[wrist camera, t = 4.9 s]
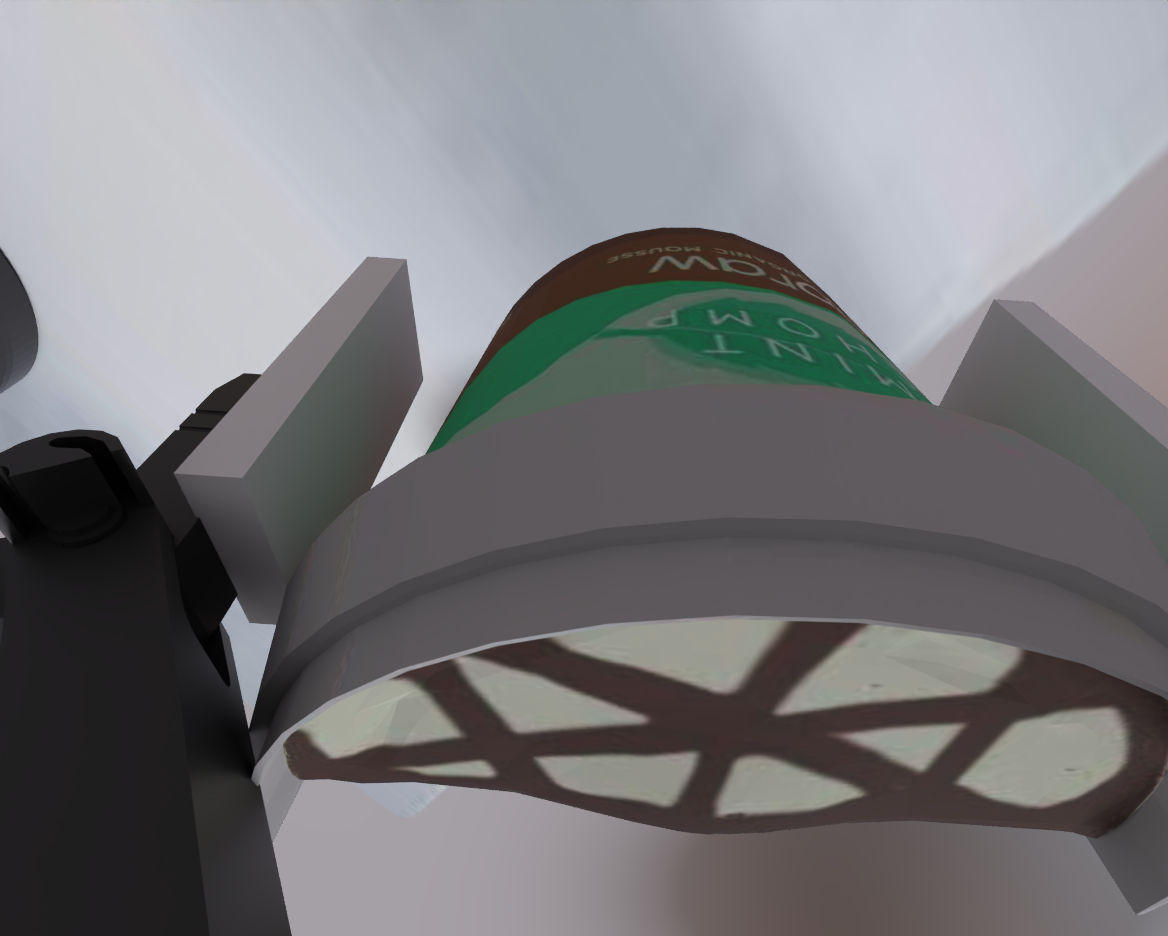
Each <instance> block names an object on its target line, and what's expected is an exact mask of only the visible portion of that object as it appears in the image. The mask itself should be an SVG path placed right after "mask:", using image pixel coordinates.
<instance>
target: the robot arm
mask: <svg viewBox="0 0 1168 936" xmlns="http://www.w3.org/2000/svg"><path fill="white" fill-rule="evenodd" d="M37 351H38V330H37V324H36V320H35V316H34V313H33V310H32V307H31V304H30V302H29V299H28V297H27V295H26V293H25V291H24V289H23V287H22V285H21V283H20V281H19V279H18V278H17V276H16V274H15V273H14V271H13V269H12V268H11V267H10V265H9V264H8V262H7V261H6V259H5V258H4V256H3V255H2V254H1V252H0V394H1V393H2V392H4V391H5V390H7V389H8V388H10V387H11V386H13V385H14V384H16V383H17V382H19V381H20V380H21V379H23V378H24V377H25V376H26V375H27V373H28V372H29V371H30V369H31V368H32V366H33V364H34V362H35V359H36V355H37ZM422 382H423V375H422V368H421V361H420V353H419V346H418V339H417V332H416V325H415V318H414V310H413V303H412V296H411V289H410V282H409V275H408V268H407V260H406V259H393V258H378V257H367V258H366V259H365V260H364V261H363V262H362V264H361V265H360V266H359V267H358V268H357V269H356V270H355V271H354V273H353V274H352V275H351V276H350V277H349V278H348V279H347V280H346V281H345V283H344V284H343V285H342V286H341V287H340V288H339V289H338V290H337V291H336V293H335V294H334V295H333V296H332V297H331V298H330V299H329V300H328V302H327V303H326V304H325V305H324V306H323V307H322V308H321V309H320V310H319V312H318V313H317V314H316V315H315V316H314V317H313V318H312V319H311V320H310V322H309V323H308V324H307V325H306V326H305V327H304V328H303V329H302V331H301V332H300V333H299V334H298V335H297V336H296V337H295V338H294V339H293V341H292V342H291V343H290V344H289V345H288V346H287V347H286V348H285V349H284V351H283V352H282V353H281V354H280V355H279V356H278V357H277V358H276V360H275V361H274V362H273V363H272V364H271V365H270V366H269V367H268V368H267V370H266V371H265V372H264V373H263V374H262V375H261V374H246V373H244V374H242V375H240V376H239V377H237V378H235V379H233V380H231V381H230V382H228V383H226V384H224V385H222V386H220V387H219V388H217V389H215V390H214V391H213V392H212V393H211V394H210V395H209V396H208V397H207V398H206V399H205V400H204V401H203V402H202V403H201V404H200V405H199V406H198V407H197V408H196V409H195V410H196V413H195V414H193V413H191V415H190V416H189V417H188V418H187V419H186V420H185V421H184V422H183V423H182V424H181V425H180V426H179V427H180V429H179V430H175V431H174V432H173V433H172V434H171V435H170V436H169V437H168V438H167V439H166V440H165V441H164V442H163V443H162V444H161V445H160V446H159V447H158V448H157V449H156V450H155V451H154V452H153V453H152V454H151V455H150V456H149V457H148V458H147V459H146V461H145V462H144V463H143V464H142V465H141V466H140V467H139V468H138V469H137V470H136V469H135V467H134V465H133V463H132V462H131V460H130V458H129V456H128V454H127V453H126V451H125V449H124V447H123V446H122V444H121V442H120V440H119V439H118V437H116V436H113V435H111V434H108V433H106V432H104V431H97V430H79V429H78V430H71V431H64V432H57V433H51V434H47V435H44V436H41V437H38V438H34V439H31V440H28V441H25V442H22V443H20V444H17V445H15V446H13V447H11V448H9V449H7V450H5V451H3V452H1V453H0V531H1V532H2V533H3V534H4V535H5V537H6V538H0V936H292V935H291V930H290V926H289V921H288V916H287V911H286V906H285V901H284V897H283V892H282V887H281V882H280V878H279V873H278V868H277V863H276V858H275V854H274V849H273V844H272V839H271V834H270V830H269V825H268V820H267V815H266V810H265V806H264V801H263V796H262V791H261V786H260V785H259V786H257V785H256V784H255V783H254V782H253V781H252V780H251V778H252V774H253V771H254V768H255V765H256V762H255V758H254V753H253V748H252V743H251V738H250V734H249V732H248V731H249V729H248V725H247V720H246V714H245V710H244V705H243V700H242V695H241V690H240V686H239V681H238V676H237V671H236V667H235V662H234V657H233V652H232V647H231V643H230V638H229V635H228V634H227V632H226V630H225V628H224V626H223V625H222V623H221V621H222V619H223V618H224V616H225V614H226V613H227V611H228V610H229V608H230V606H231V605H232V603H233V601H234V600H235V598H236V597H237V599H238V601H239V603H240V605H241V607H242V609H243V611H244V613H245V615H246V617H247V619H248V621H249V623H260V624H275V625H277V621H278V618H279V614H280V610H281V606H282V603H283V599H284V595H285V591H286V587H287V585H288V583H289V581H290V580H291V578H292V576H293V575H294V573H295V571H296V570H297V568H298V566H299V564H300V563H301V561H302V559H303V558H304V556H305V554H306V553H307V551H308V549H309V548H310V546H311V544H312V543H313V541H314V540H315V539H316V538H317V537H318V536H319V535H320V534H321V533H322V532H323V531H324V530H325V529H326V528H327V527H328V526H329V525H330V524H331V523H332V522H333V521H334V520H335V519H336V518H337V517H338V516H339V515H340V514H341V513H342V512H343V511H344V510H345V509H346V508H347V507H348V506H349V505H350V504H351V503H352V502H353V501H354V500H355V499H356V498H358V497H359V496H361V495H363V494H364V493H366V492H367V491H369V490H370V489H371V487H372V485H373V483H374V481H375V479H376V477H377V474H378V472H379V470H380V468H381V466H382V464H383V462H384V460H385V458H386V456H387V454H388V452H389V450H390V448H391V446H392V444H393V441H394V439H395V437H396V435H397V433H398V431H399V429H400V427H401V425H402V423H403V421H404V419H405V417H406V415H407V413H408V411H409V408H410V406H411V404H412V402H413V400H414V398H415V396H416V394H417V392H418V390H419V388H420V386H421V384H422ZM939 407H942V408H945V409H948V410H952V411H955V412H958V413H961V414H964V415H967V416H970V417H974V418H977V419H980V420H983V421H986V422H989V423H993V424H996V425H999V426H1002V427H1005V428H1008V429H1012V430H1014V431H1016V432H1018V433H1019V434H1021V435H1023V436H1025V437H1027V438H1029V439H1031V440H1032V441H1034V442H1036V443H1038V444H1040V445H1042V446H1044V447H1045V448H1047V449H1049V450H1051V451H1053V452H1055V453H1057V454H1058V455H1060V456H1062V457H1064V458H1066V459H1068V460H1070V461H1071V462H1073V463H1075V464H1077V465H1079V466H1081V467H1083V468H1084V469H1086V470H1087V471H1088V472H1089V473H1090V474H1091V475H1092V476H1094V477H1095V478H1096V479H1097V480H1098V481H1099V482H1100V483H1101V484H1103V485H1104V486H1105V487H1106V488H1107V489H1108V490H1109V491H1110V492H1112V493H1113V494H1114V495H1115V496H1116V497H1117V498H1118V499H1119V500H1121V501H1122V502H1123V503H1124V504H1125V505H1126V506H1127V507H1128V508H1129V509H1131V510H1132V511H1133V512H1134V513H1135V514H1136V515H1137V517H1138V519H1139V520H1140V522H1141V524H1142V525H1143V527H1144V528H1145V530H1146V532H1147V533H1148V535H1149V537H1150V538H1151V540H1152V542H1153V543H1154V545H1155V546H1156V548H1157V550H1158V551H1159V553H1160V555H1161V556H1162V558H1163V559H1164V561H1165V563H1166V565H1167V567H1168V408H1167V407H1166V406H1164V405H1163V404H1162V403H1160V402H1159V401H1158V400H1157V399H1155V398H1154V397H1153V396H1152V395H1150V394H1149V393H1148V392H1147V391H1145V390H1144V389H1143V388H1141V387H1140V386H1139V385H1138V384H1136V383H1135V382H1134V381H1132V380H1131V379H1130V378H1129V377H1128V376H1126V375H1125V374H1124V373H1122V372H1121V371H1120V370H1119V369H1117V368H1116V367H1115V366H1113V365H1112V364H1111V363H1110V362H1108V361H1107V360H1106V359H1104V358H1103V357H1102V356H1101V355H1100V354H1098V353H1097V352H1096V351H1094V350H1093V349H1092V348H1091V347H1089V346H1088V345H1087V344H1086V343H1084V342H1083V341H1082V340H1080V339H1079V338H1078V337H1077V336H1075V335H1074V334H1073V333H1072V332H1070V331H1069V330H1068V329H1067V328H1065V327H1064V326H1063V325H1062V324H1060V323H1059V322H1058V321H1056V320H1055V319H1054V318H1053V317H1051V316H1050V315H1049V314H1048V313H1046V312H1045V311H1044V310H1042V309H1041V308H1040V307H1039V306H1037V305H1036V304H1035V303H1033V302H1024V301H1010V300H995V299H994V301H993V303H992V304H991V306H990V308H989V311H988V312H987V314H986V316H985V318H984V320H983V322H982V324H981V326H980V328H979V330H978V332H977V333H976V335H975V337H974V339H973V341H972V343H971V345H970V347H969V349H968V351H967V353H966V355H965V357H964V359H963V361H962V363H961V365H960V366H959V369H958V370H957V372H956V374H955V376H954V378H953V380H952V382H951V384H950V386H949V388H948V390H947V392H946V394H945V395H944V397H943V399H942V401H941V403H940V405H939Z"/></svg>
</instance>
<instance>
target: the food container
mask: <svg viewBox="0 0 1168 936" xmlns="http://www.w3.org/2000/svg"><path fill="white" fill-rule="evenodd" d="M248 732H249V734H250V738H251V743H252V748H253V753H254V758H255V762H256V765H255V768H254V771H253V774H252V778H251V780H252V781H253V782H254V783H255V784H256V785H257V786H259V785H260V786H261V791H262V796H263V801H264V806H265V810H266V815H267V820H268V825H269V830H270V834H271V839H272V843H273V840H274V839H275V837H276V835H277V833H278V831H279V829H280V827H281V825H282V823H283V821H284V819H285V817H286V815H287V813H288V811H289V809H290V807H291V804H292V803H293V801H294V799H295V797H296V795H297V793H298V791H299V789H300V787H301V785H302V783H303V781H304V780H315V779H331V780H340V781H348V782H356V783H393V782H418V783H428V784H439V785H449V786H459V787H469V788H479V789H489V790H499V791H509V792H517V793H521V794H525V795H529V796H533V797H537V798H541V799H545V800H549V801H553V802H557V803H561V804H565V805H569V806H573V807H577V808H580V809H584V810H589V811H592V812H596V813H600V814H604V815H608V816H612V817H616V818H621V819H624V820H629V821H633V822H638V823H642V824H647V825H652V826H657V827H661V828H666V829H671V830H676V831H682V832H689V833H700V834H740V833H765V832H773V831H782V830H791V829H799V828H807V827H816V826H825V825H832V824H840V823H857V822H882V821H884V822H885V821H927V822H941V823H956V824H970V825H984V826H985V825H986V826H999V827H1013V828H1028V829H1029V828H1030V829H1043V830H1058V831H1066V832H1074V833H1077V834H1081V835H1084V836H1086V837H1087V838H1088V840H1089V842H1090V843H1091V845H1092V846H1093V848H1094V849H1095V851H1096V853H1097V854H1098V856H1099V857H1100V859H1101V860H1102V862H1103V864H1104V865H1105V867H1106V868H1107V870H1108V871H1109V873H1110V875H1111V876H1112V878H1113V879H1114V881H1115V882H1116V884H1117V886H1118V887H1119V889H1120V890H1121V892H1122V893H1123V895H1124V897H1125V898H1126V900H1127V901H1128V903H1129V904H1130V906H1131V907H1132V909H1133V911H1134V912H1135V913H1136V915H1142V914H1145V913H1147V912H1149V911H1151V910H1153V909H1155V908H1157V907H1160V906H1162V905H1164V904H1166V903H1168V567H1167V565H1166V563H1165V561H1164V559H1163V558H1162V556H1161V555H1160V553H1159V551H1158V550H1157V548H1156V546H1155V545H1154V543H1153V542H1152V540H1151V538H1150V537H1149V535H1148V533H1147V532H1146V530H1145V528H1144V527H1143V525H1142V524H1141V522H1140V520H1139V519H1138V517H1137V515H1136V514H1135V513H1134V512H1133V511H1132V510H1131V509H1129V508H1128V507H1127V506H1126V505H1125V504H1124V503H1123V502H1122V501H1121V500H1119V499H1118V498H1117V497H1116V496H1115V495H1114V494H1113V493H1112V492H1110V491H1109V490H1108V489H1107V488H1106V487H1105V486H1104V485H1103V484H1101V483H1100V482H1099V481H1098V480H1097V479H1096V478H1095V477H1094V476H1092V475H1091V474H1090V473H1089V472H1088V471H1087V470H1086V469H1084V468H1083V467H1081V466H1079V465H1077V464H1075V463H1073V462H1071V461H1070V460H1068V459H1066V458H1064V457H1062V456H1060V455H1058V454H1057V453H1055V452H1053V451H1051V450H1049V449H1047V448H1045V447H1044V446H1042V445H1040V444H1038V443H1036V442H1034V441H1032V440H1031V439H1029V438H1027V437H1025V436H1023V435H1021V434H1019V433H1018V432H1016V431H1014V430H1012V429H1008V428H1005V427H1002V426H999V425H996V424H993V423H989V422H986V421H983V420H980V419H977V418H974V417H970V416H967V415H964V414H961V413H958V412H955V411H952V410H948V409H945V408H942V407H939V406H936V405H933V404H932V403H931V402H930V401H929V400H928V399H927V398H926V397H925V396H924V395H923V394H922V393H921V392H920V391H919V390H918V389H917V387H915V385H914V384H913V383H912V382H911V381H910V380H909V379H908V378H907V377H906V376H905V375H904V374H903V373H902V372H901V371H900V370H899V369H898V368H897V367H896V365H895V364H894V363H893V362H892V361H891V360H890V359H889V358H888V357H887V356H886V355H885V354H884V353H883V352H882V351H881V350H880V349H879V348H878V347H877V346H876V345H875V344H874V343H873V341H872V340H871V339H870V338H869V337H868V336H867V335H866V334H865V333H864V332H863V331H862V330H861V329H860V328H859V327H858V326H857V325H856V324H855V323H854V322H853V321H852V320H851V319H850V317H849V316H848V315H847V314H846V313H845V312H844V311H843V310H842V309H841V308H840V307H839V306H838V305H837V304H836V303H835V302H834V301H833V300H832V299H831V298H830V297H829V296H828V295H827V294H826V293H825V292H824V291H823V290H822V289H821V288H820V287H819V286H817V285H816V284H815V283H814V282H813V281H812V280H811V279H810V278H809V277H808V276H806V275H805V274H804V273H803V272H802V271H801V270H800V269H799V268H798V267H797V266H795V265H794V264H793V263H792V262H791V261H790V260H789V259H788V258H787V257H786V256H784V255H783V254H782V253H779V252H777V251H774V250H772V249H769V248H767V247H764V246H762V245H760V244H757V243H755V242H752V241H750V240H747V239H745V238H742V237H740V236H737V235H735V234H732V233H726V232H720V231H714V230H708V229H703V228H657V229H651V230H645V231H639V232H634V233H628V234H624V235H621V236H618V237H615V238H612V239H609V240H606V241H603V242H601V243H598V244H595V245H592V246H590V247H588V248H586V249H584V250H583V251H581V252H579V253H577V254H575V255H573V256H571V257H570V258H568V259H566V260H564V261H562V262H561V263H559V264H558V265H557V266H555V267H554V268H553V269H552V270H550V271H549V272H548V273H546V274H545V275H544V276H542V277H541V278H540V279H539V280H537V281H536V282H535V283H534V284H533V285H532V286H531V287H530V288H529V289H528V290H527V292H526V293H525V294H524V295H523V296H522V297H521V298H520V299H519V300H518V301H517V302H516V303H515V305H514V306H513V307H512V309H511V310H510V312H509V313H508V315H507V316H506V318H505V320H504V321H503V323H502V324H501V326H500V327H499V329H498V330H497V332H496V334H495V335H494V337H493V339H492V341H491V342H490V344H489V346H488V348H487V349H486V351H485V353H484V354H483V356H482V358H481V360H480V361H479V363H478V365H477V366H476V368H475V370H474V372H473V373H472V375H471V377H470V378H469V380H468V382H467V384H466V385H465V387H464V389H463V391H462V392H461V394H460V396H459V397H458V399H457V401H456V403H455V404H454V406H453V408H452V409H451V411H450V413H449V415H448V416H447V418H446V420H445V421H444V423H443V425H442V427H441V428H440V430H439V432H438V434H437V435H436V437H435V439H434V440H433V442H432V444H431V446H430V447H429V449H428V451H427V452H426V454H425V455H424V456H421V457H419V458H417V459H416V460H414V461H413V462H411V463H410V464H408V465H407V466H405V467H404V468H402V469H401V470H399V471H398V472H396V473H394V474H393V475H391V476H390V477H388V478H387V479H385V480H384V481H382V482H381V483H379V484H378V485H376V486H375V487H373V488H372V489H370V490H369V491H367V492H366V493H364V494H363V495H361V496H359V497H358V498H356V499H355V500H354V501H353V502H352V503H351V504H350V505H349V506H348V507H347V508H346V509H345V510H344V511H343V512H342V513H341V514H340V515H339V516H338V517H337V518H336V519H335V520H334V521H333V522H332V523H331V524H330V525H329V526H328V527H327V528H326V529H325V530H324V531H323V532H322V533H321V534H320V535H319V536H318V537H317V538H316V539H315V540H314V541H313V543H312V544H311V546H310V548H309V549H308V551H307V553H306V554H305V556H304V558H303V559H302V561H301V563H300V564H299V566H298V568H297V570H296V571H295V573H294V575H293V576H292V578H291V580H290V581H289V583H288V585H287V587H286V591H285V595H284V599H283V603H282V606H281V610H280V614H279V618H278V621H277V625H276V629H275V633H274V636H273V640H272V644H271V648H270V652H269V655H268V659H267V663H266V667H265V670H264V674H263V678H262V682H261V685H260V689H259V693H258V697H257V701H256V704H255V708H254V712H253V716H252V719H251V723H250V727H249V731H248Z"/></svg>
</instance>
